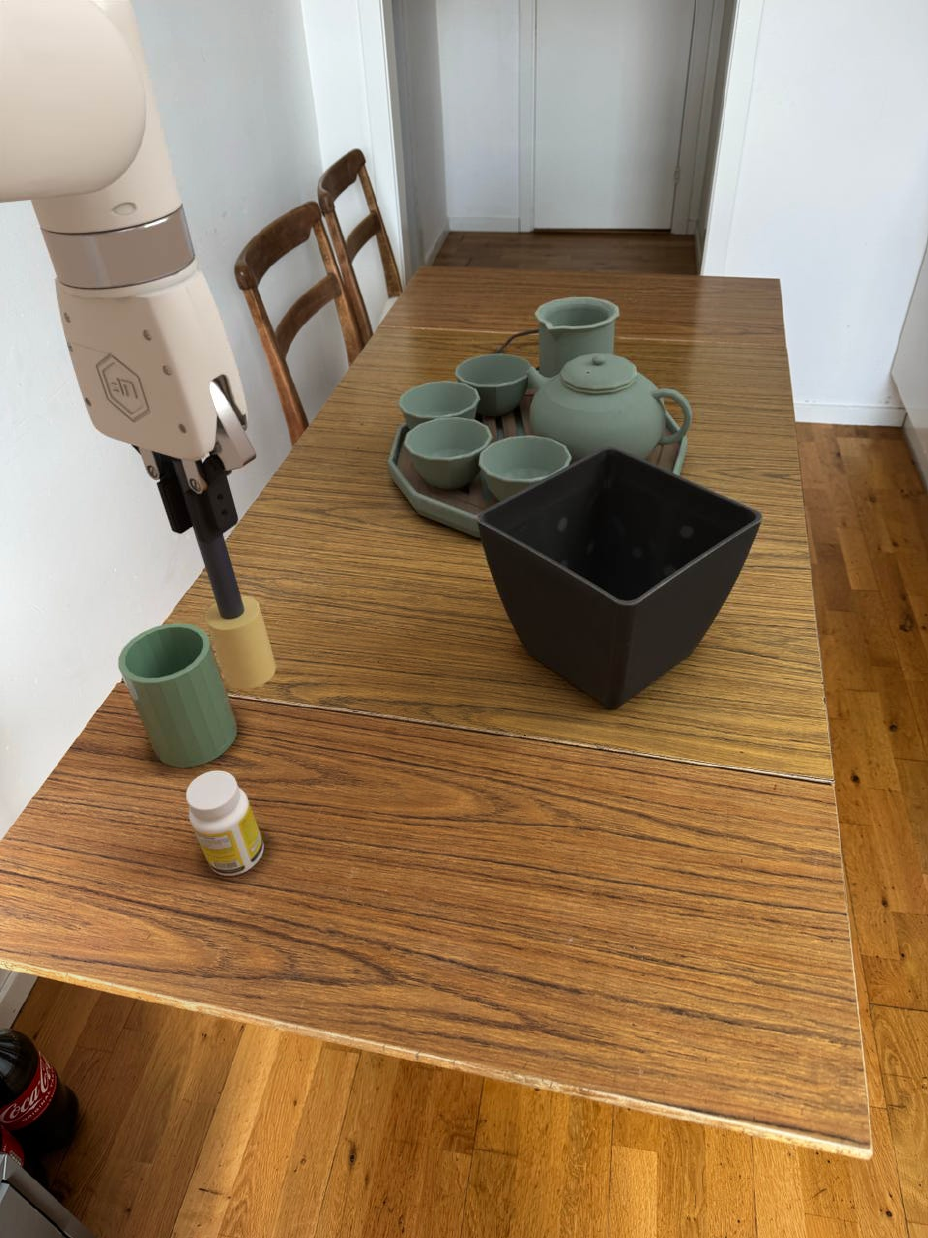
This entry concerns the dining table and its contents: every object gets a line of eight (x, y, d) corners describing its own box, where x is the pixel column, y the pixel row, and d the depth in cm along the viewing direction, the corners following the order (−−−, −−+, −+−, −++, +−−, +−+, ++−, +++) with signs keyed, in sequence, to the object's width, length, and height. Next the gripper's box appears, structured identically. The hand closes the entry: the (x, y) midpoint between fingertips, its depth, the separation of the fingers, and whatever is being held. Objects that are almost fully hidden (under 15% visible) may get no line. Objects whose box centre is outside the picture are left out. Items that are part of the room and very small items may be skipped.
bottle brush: (270, 689, 68) (207, 469, 56) (218, 690, 68) (145, 472, 56) (280, 654, 71) (223, 438, 59) (231, 655, 71) (164, 441, 59)
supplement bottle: (247, 821, 78) (224, 756, 72) (274, 855, 75) (253, 789, 70) (197, 852, 76) (170, 788, 70) (223, 888, 73) (197, 823, 67)
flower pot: (744, 651, 90) (769, 510, 80) (620, 749, 81) (629, 605, 71) (603, 574, 102) (608, 442, 91) (481, 652, 93) (470, 516, 82)
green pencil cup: (227, 766, 83) (196, 680, 76) (143, 769, 83) (105, 684, 76) (245, 705, 89) (218, 621, 82) (167, 708, 90) (134, 624, 83)
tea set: (393, 411, 138) (380, 305, 127) (652, 390, 137) (660, 282, 127) (387, 560, 107) (368, 436, 96) (720, 534, 106) (737, 407, 96)
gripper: (-23, 254, 50) (86, 527, 62) (172, 289, 43) (254, 590, 55) (83, 217, 55) (166, 477, 67) (275, 243, 48) (330, 529, 60)
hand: (205, 526), depth 61 cm, fingers closed on bottle brush
